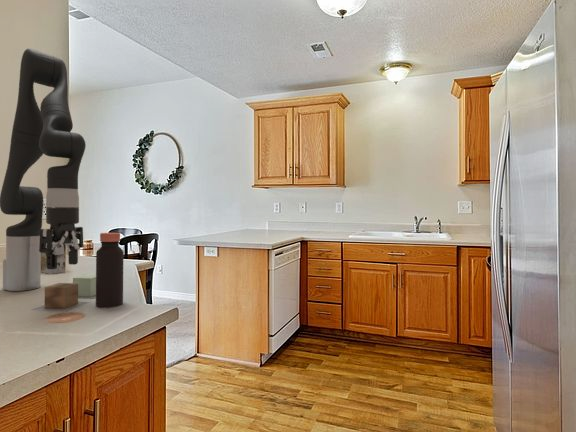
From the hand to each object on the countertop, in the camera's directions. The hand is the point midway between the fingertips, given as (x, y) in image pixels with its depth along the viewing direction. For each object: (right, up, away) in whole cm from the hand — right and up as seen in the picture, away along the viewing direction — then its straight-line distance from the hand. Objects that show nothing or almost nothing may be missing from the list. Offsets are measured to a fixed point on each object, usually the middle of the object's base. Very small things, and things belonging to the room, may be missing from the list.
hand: (62, 266), depth 99 cm
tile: (0, -11, 0) cm, 11 cm away
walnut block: (0, -11, 0) cm, 11 cm away
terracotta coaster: (+7, -11, -10) cm, 17 cm away
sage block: (-1, -10, +13) cm, 17 cm away
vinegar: (+11, -11, +3) cm, 16 cm away
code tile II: (-1, -11, +13) cm, 17 cm away
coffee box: (-36, -10, +52) cm, 65 cm away
